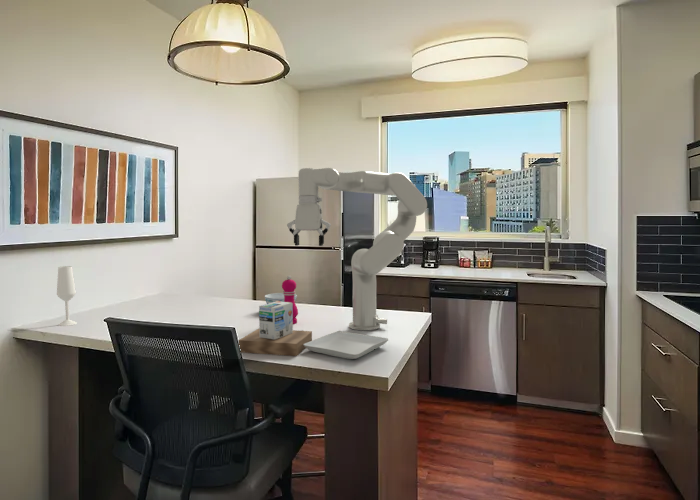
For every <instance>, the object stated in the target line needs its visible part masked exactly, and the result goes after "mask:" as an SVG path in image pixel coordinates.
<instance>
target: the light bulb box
mask: <svg viewBox="0 0 700 500" xmlns="http://www.w3.org/2000/svg"><path fill="white" fill-rule="evenodd" d="M258 316H259V317H258V319H259V320H258V321H259V322H258V323H259V326H258V327H259V328H258V329H259V331H260V337H261V338H267V339H273V340H275V339H278V338H281V337H283V336H286V335H289V334H291V333H293V330H294V329H293V328H294V324H293V303H289V302H281V301H276V302H273V303H269V304H267V303H266V304H262V305H259V306H258Z"/></svg>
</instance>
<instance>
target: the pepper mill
mask: <svg viewBox="0 0 700 500" xmlns="http://www.w3.org/2000/svg"><path fill="white" fill-rule="evenodd" d="M281 287H282V288H281V289H282V290H283V291H282V293H283V295H284V302H289V303H293V325H296V324H297V323H298V319H297V317H298V314H299V310H298V307H297V305H296V301H294V295H295V294H296V289H297V282H296V281H295V280H294V279H292V275H288V276H287V277H286V279H285V280H283V281H282V283H281Z"/></svg>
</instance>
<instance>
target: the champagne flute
mask: <svg viewBox="0 0 700 500" xmlns="http://www.w3.org/2000/svg"><path fill="white" fill-rule="evenodd" d="M74 277H75V276H74V270H73V266H70V265H67V266H66V265H63V266H58V267H57V283H56V284H57V285H56V286H57V287H56V295H57V297H58V298H59V299H61V300H62V301H63V302H64V303H65V306H64V307H65V309H64V311H65V319H64V320H63V321H61V322H60V323H59V324H58V326H60V327H66V326H67V327H68V326H73V325H77V324H78V322H77V321H74V320H71V319H70V308H69V307H70V305H69V301H70V300H72V299H73V298H74V297H75V296H76V294H77V291H76V284H75V279H74Z"/></svg>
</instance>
